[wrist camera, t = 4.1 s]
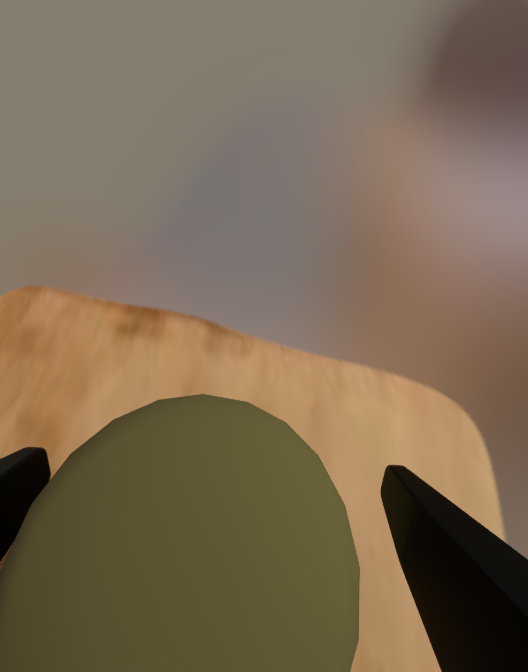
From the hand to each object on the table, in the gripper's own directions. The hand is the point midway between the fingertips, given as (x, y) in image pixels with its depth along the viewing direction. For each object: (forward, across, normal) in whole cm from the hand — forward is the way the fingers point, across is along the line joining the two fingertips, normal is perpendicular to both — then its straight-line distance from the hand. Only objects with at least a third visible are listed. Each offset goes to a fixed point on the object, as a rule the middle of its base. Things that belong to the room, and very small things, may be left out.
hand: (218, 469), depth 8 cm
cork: (+4, 0, +6) cm, 7 cm away
